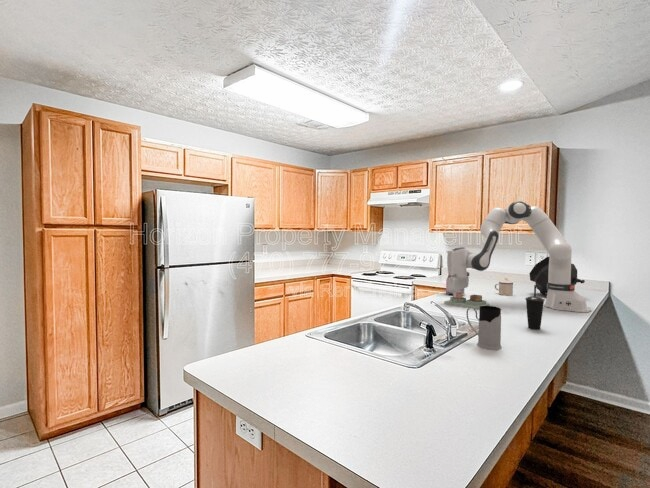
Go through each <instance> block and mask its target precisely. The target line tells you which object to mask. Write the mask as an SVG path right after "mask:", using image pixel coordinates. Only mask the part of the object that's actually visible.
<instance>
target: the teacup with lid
mask: <svg viewBox="0 0 650 488" xmlns="http://www.w3.org/2000/svg"><path fill="white" fill-rule="evenodd" d="M497 286H498V288H497ZM513 286H514V282H513V281H512V280H510V279H508V277H506V278H505V277H504V279H502V280H499V281H498V283H495V285H494V289H495V290H496V291H498V294H499V295H500V296H504V297H505V296H506V297H508V296H509V297H511V296H513V293H514V289H513V288H514V287H513Z"/></svg>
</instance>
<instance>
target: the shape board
mask: <svg viewBox="0 0 650 488" xmlns="http://www.w3.org/2000/svg"><path fill="white" fill-rule="evenodd" d="M443 304H444V305H448V304H449V306H454V305H456V307H460V306H462V307H463V308H467V307H468V308H470V309H472V308H475V309H476V310H479V309H480V306H491V303H489V302H487V300H483V299H482V301H481V302H475V301H470V298H469V299H467V298H466V297H463V299H454V297H453V296H451V297H449V299H448V300H444V302H443ZM471 307H472V308H471ZM468 308H467V309H468Z"/></svg>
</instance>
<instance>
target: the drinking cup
mask: <svg viewBox="0 0 650 488" xmlns="http://www.w3.org/2000/svg"><path fill="white" fill-rule="evenodd" d="M533 287H534V288H533V295H530V296H528V297H525V301H526V302H525V304H526V315H527V316H526V318H527V328H528V329H529V330H537V331H539V330H541V328H542V327H541V325H542V318H543V311H544V305H545V302H546V299H545V298H543V297H540V296H537V288H536V284H534V285H533Z"/></svg>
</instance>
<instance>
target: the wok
mask: <svg viewBox="0 0 650 488" xmlns="http://www.w3.org/2000/svg"><path fill="white" fill-rule="evenodd" d="M548 272H549V256H547V257H545V258H543V259H542V260H540V261H539V262H537V263H536V264H535V265H534V267H533V268H532V269H531V271H530V272H529V273H528V274H529V280H530V281H531V282H534V283H535V284H534V285H536V290H539V293H540V294H542V295H547V283H548ZM585 281H586V280H585V279H580V278H578V269H577V268H576V265H575V264H574V263H572V262H571V284H572V285H573V286H575V287H576V285H577V283H580V284H584V283H585Z"/></svg>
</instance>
